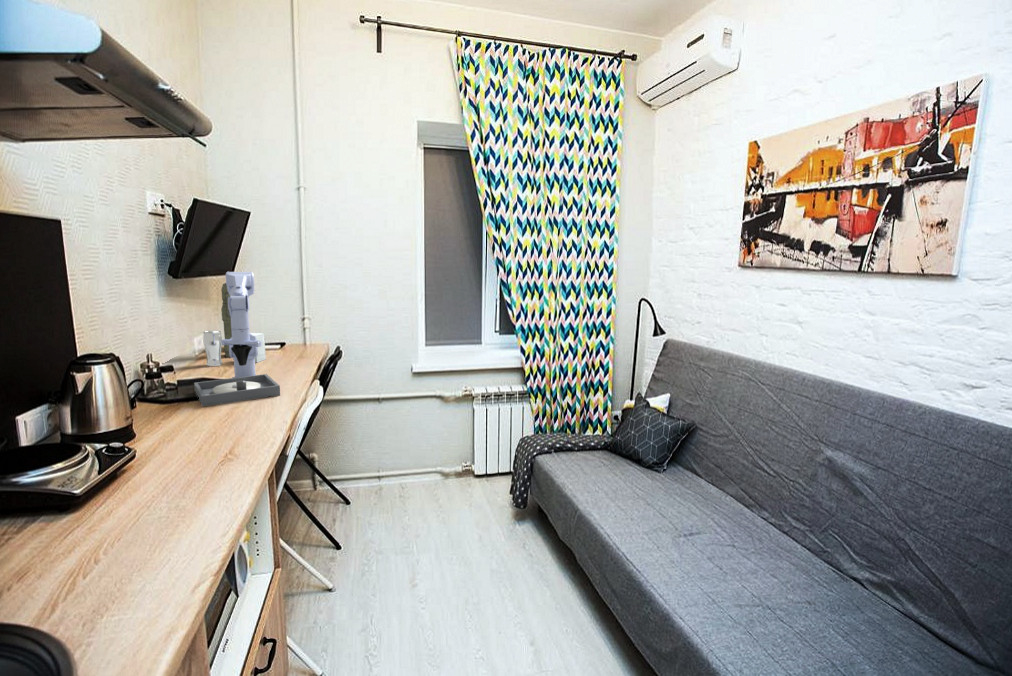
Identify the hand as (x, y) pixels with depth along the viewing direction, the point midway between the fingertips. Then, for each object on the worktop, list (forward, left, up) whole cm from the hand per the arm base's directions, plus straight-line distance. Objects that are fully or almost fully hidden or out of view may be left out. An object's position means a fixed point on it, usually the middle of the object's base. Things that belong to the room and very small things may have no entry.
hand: (242, 365), depth 178 cm
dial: (+4, -3, -8) cm, 10 cm away
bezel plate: (+4, -3, -9) cm, 11 cm away
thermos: (-66, +8, -10) cm, 67 cm away
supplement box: (-49, +13, -10) cm, 52 cm away
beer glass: (-49, -3, -10) cm, 50 cm away
